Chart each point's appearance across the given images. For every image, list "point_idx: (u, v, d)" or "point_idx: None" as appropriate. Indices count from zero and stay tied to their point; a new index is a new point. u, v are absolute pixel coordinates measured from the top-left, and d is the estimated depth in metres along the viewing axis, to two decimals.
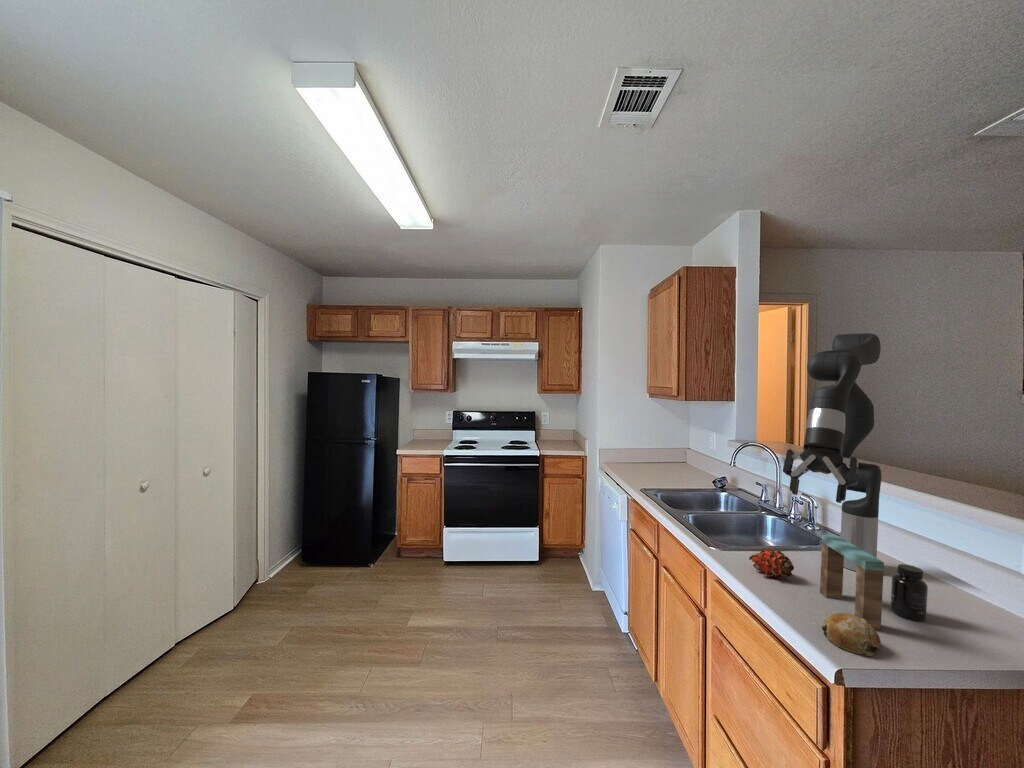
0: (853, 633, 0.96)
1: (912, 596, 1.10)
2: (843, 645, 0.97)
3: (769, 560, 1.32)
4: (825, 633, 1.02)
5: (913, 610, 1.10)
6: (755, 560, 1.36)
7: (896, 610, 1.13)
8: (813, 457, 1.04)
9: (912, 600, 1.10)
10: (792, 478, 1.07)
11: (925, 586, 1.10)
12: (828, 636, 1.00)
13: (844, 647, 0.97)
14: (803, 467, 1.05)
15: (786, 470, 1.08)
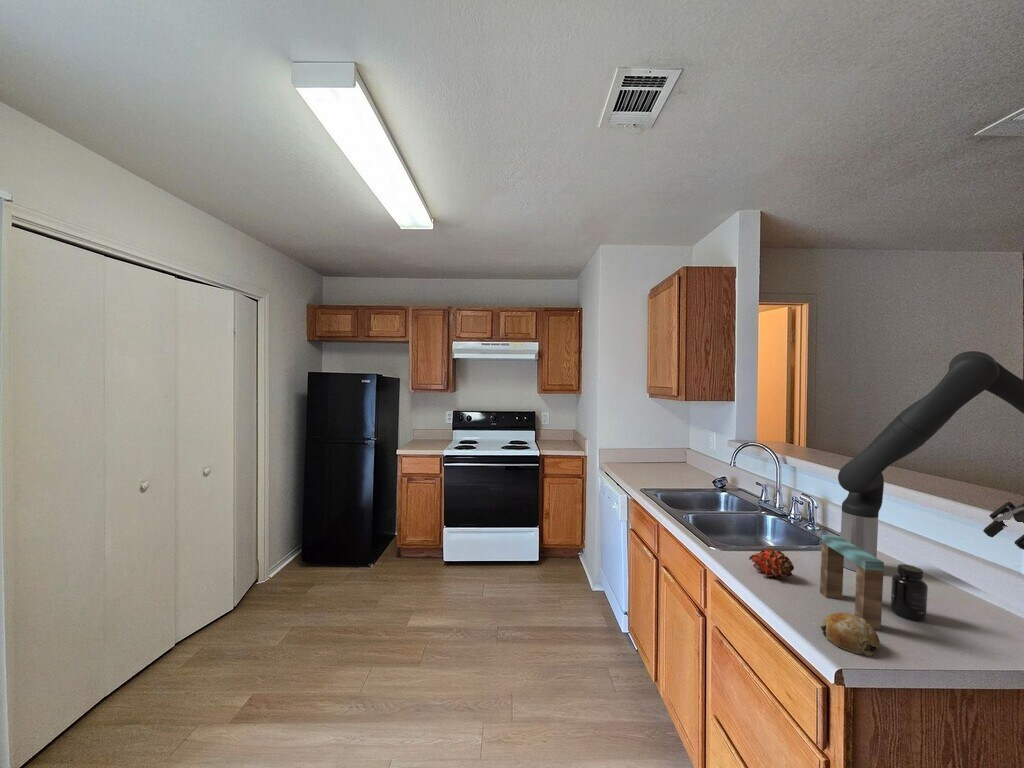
0: (853, 632, 0.96)
1: (912, 596, 1.10)
2: (842, 644, 0.97)
3: (769, 560, 1.32)
4: (824, 633, 1.02)
5: (913, 610, 1.10)
6: (755, 560, 1.36)
7: (896, 610, 1.13)
8: None
9: (912, 600, 1.10)
10: None
11: (925, 586, 1.10)
12: (827, 636, 1.00)
13: (843, 647, 0.97)
14: None
15: None
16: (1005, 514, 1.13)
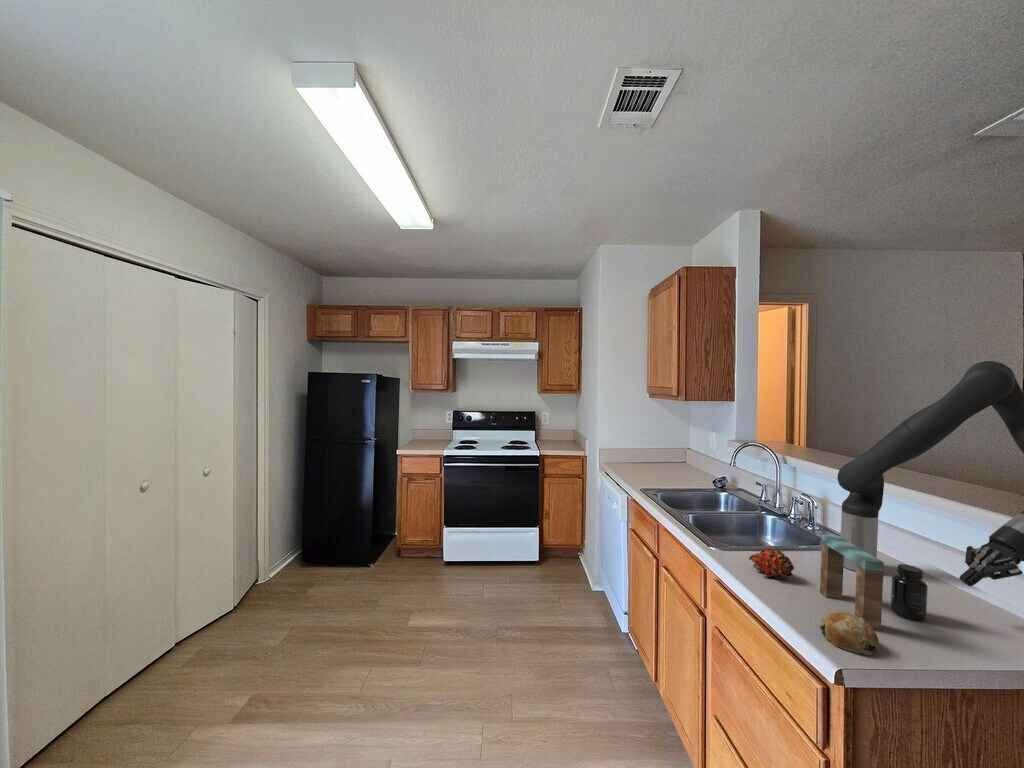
0: (852, 632, 0.97)
1: (912, 596, 1.10)
2: (841, 644, 0.97)
3: (769, 560, 1.32)
4: (823, 632, 1.02)
5: (913, 610, 1.10)
6: (755, 560, 1.36)
7: (896, 610, 1.13)
8: None
9: (912, 600, 1.10)
10: None
11: (925, 586, 1.10)
12: (826, 635, 1.00)
13: (842, 646, 0.97)
14: None
15: None
16: (977, 558, 1.12)
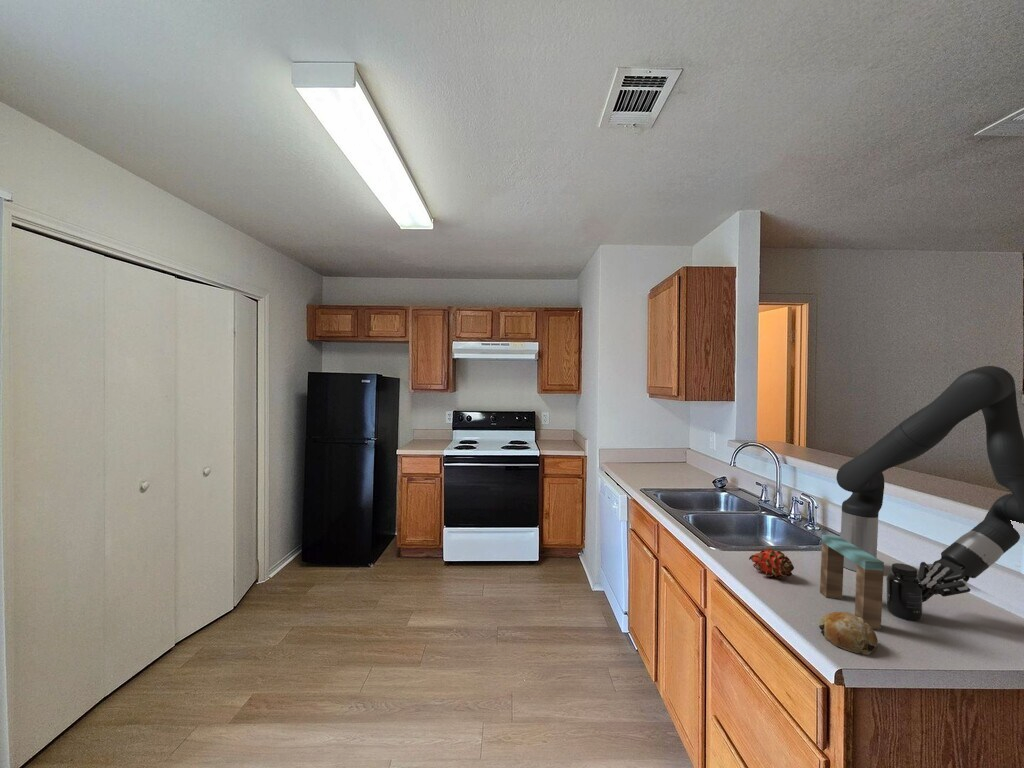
0: (851, 631, 0.97)
1: (907, 595, 1.10)
2: (840, 643, 0.97)
3: (769, 560, 1.32)
4: (822, 632, 1.02)
5: (909, 610, 1.10)
6: (755, 560, 1.36)
7: (892, 610, 1.13)
8: None
9: (907, 600, 1.10)
10: None
11: (919, 585, 1.10)
12: (825, 635, 1.00)
13: (841, 646, 0.97)
14: None
15: None
16: (929, 575, 1.13)
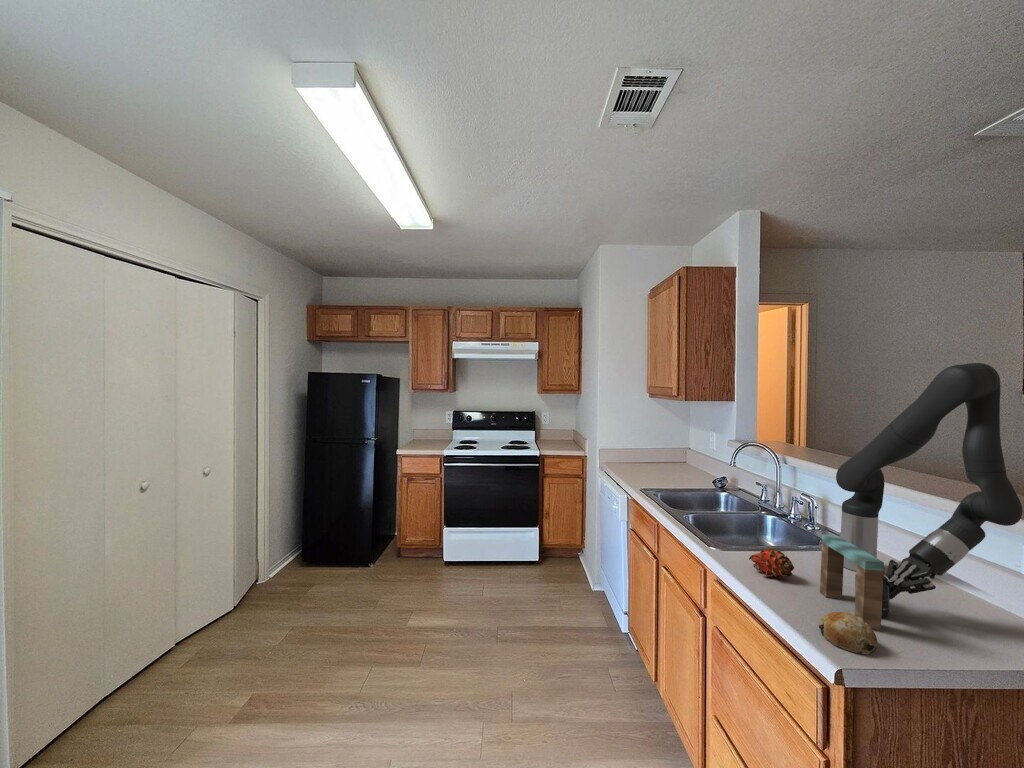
0: (850, 631, 0.97)
1: None
2: (840, 643, 0.97)
3: (769, 560, 1.32)
4: (822, 632, 1.02)
5: None
6: (755, 560, 1.36)
7: None
8: None
9: None
10: None
11: (886, 582, 1.11)
12: (825, 635, 1.00)
13: (841, 646, 0.97)
14: None
15: None
16: (896, 572, 1.14)
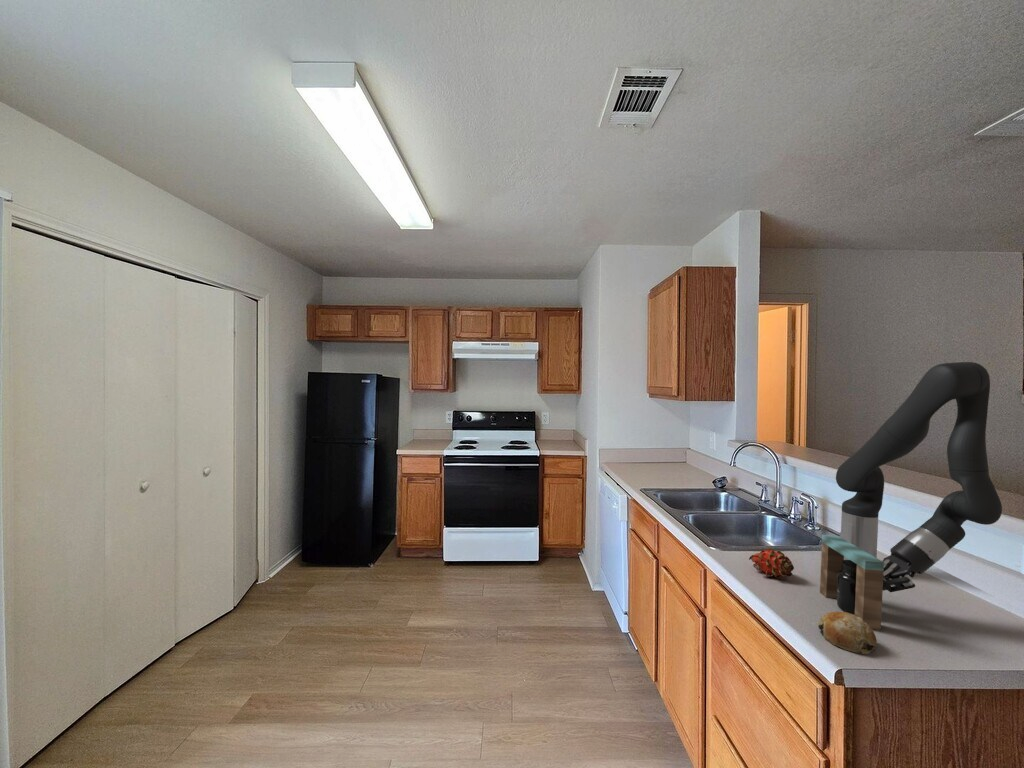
0: (850, 631, 0.97)
1: (855, 591, 1.12)
2: (839, 643, 0.98)
3: (769, 560, 1.32)
4: (822, 631, 1.02)
5: None
6: (755, 560, 1.36)
7: (841, 605, 1.14)
8: None
9: None
10: None
11: None
12: (825, 634, 1.01)
13: (840, 645, 0.97)
14: None
15: None
16: None
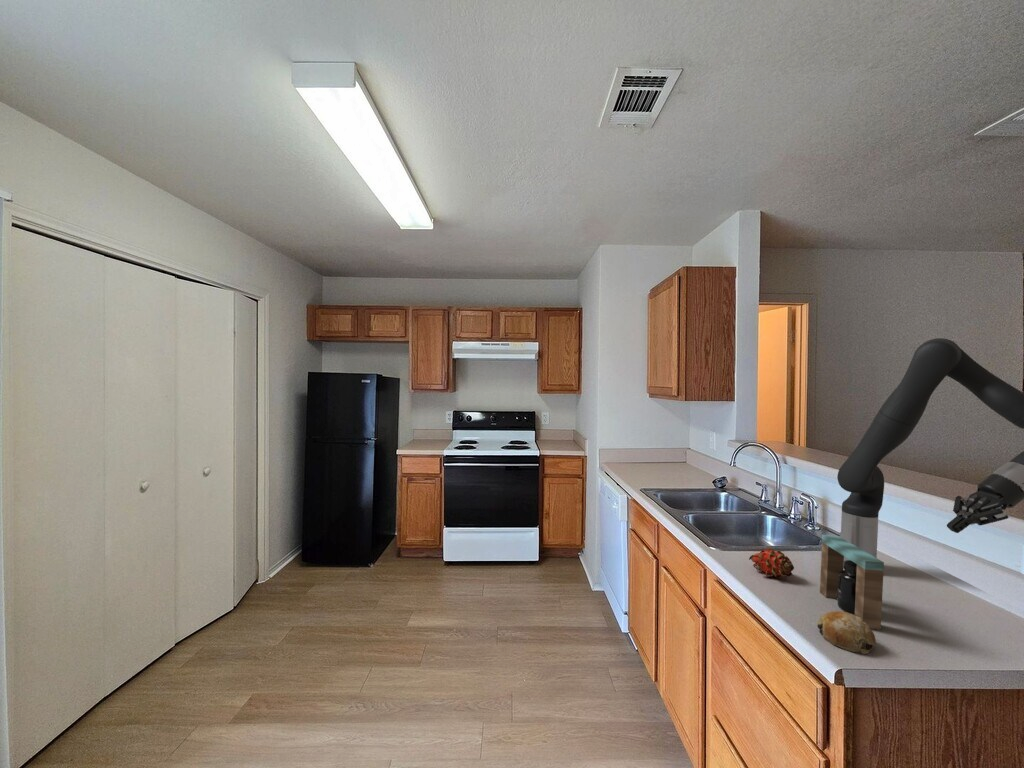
0: (849, 631, 0.97)
1: None
2: (838, 642, 0.98)
3: (769, 560, 1.32)
4: (821, 631, 1.02)
5: None
6: (755, 560, 1.36)
7: (842, 605, 1.14)
8: None
9: None
10: None
11: None
12: (824, 634, 1.01)
13: (840, 645, 0.98)
14: None
15: None
16: (965, 506, 1.13)
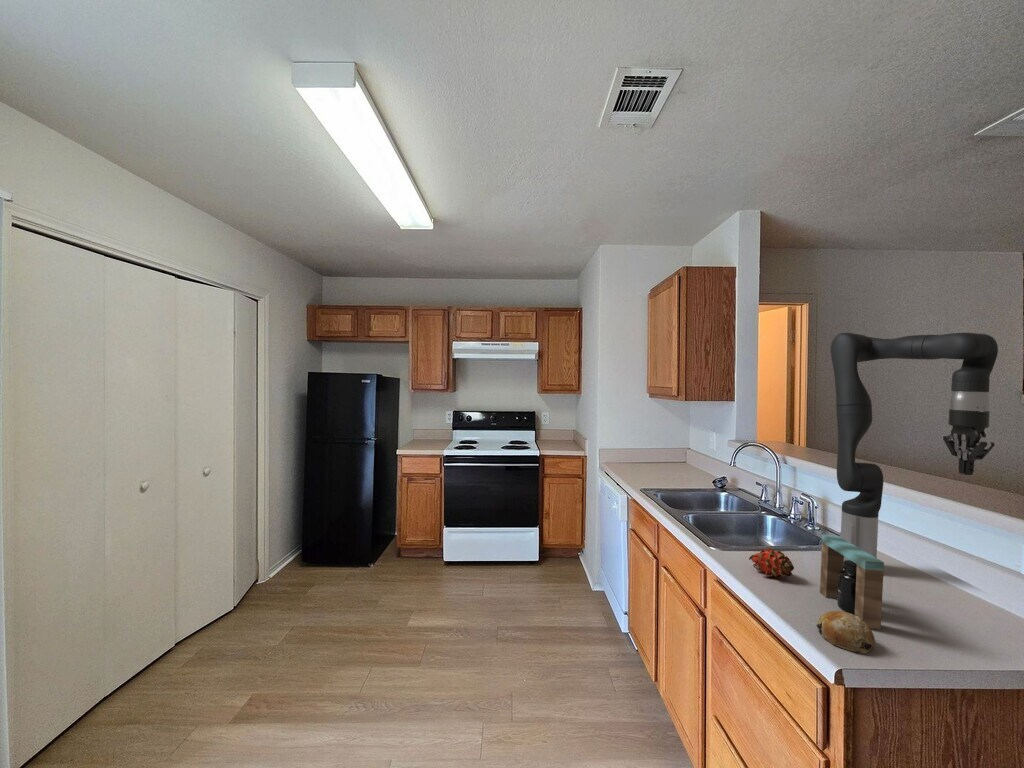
0: (848, 630, 0.97)
1: None
2: (837, 642, 0.98)
3: (769, 560, 1.32)
4: (820, 631, 1.02)
5: None
6: (755, 560, 1.36)
7: (842, 605, 1.14)
8: None
9: None
10: None
11: None
12: (823, 634, 1.01)
13: (839, 645, 0.98)
14: None
15: None
16: (956, 448, 1.20)
